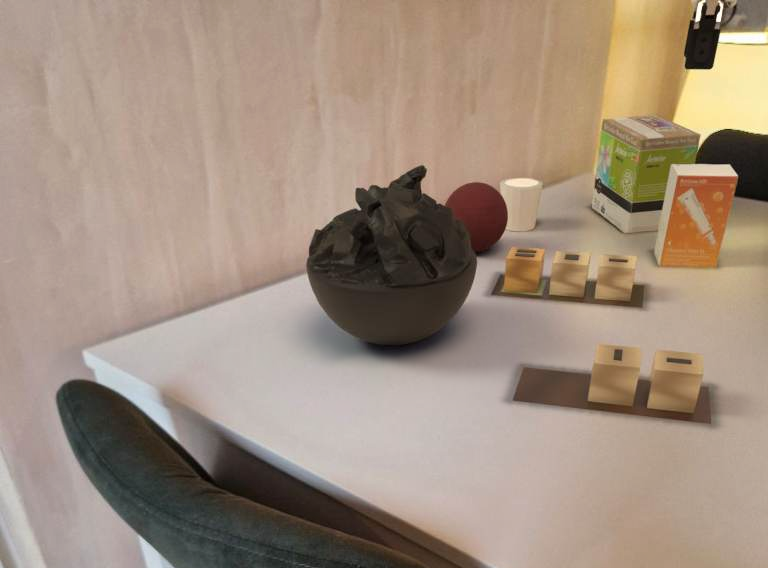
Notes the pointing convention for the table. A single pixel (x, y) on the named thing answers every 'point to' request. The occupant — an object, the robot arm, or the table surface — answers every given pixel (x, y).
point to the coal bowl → (392, 264)
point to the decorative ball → (480, 213)
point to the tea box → (638, 168)
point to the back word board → (573, 281)
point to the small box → (695, 214)
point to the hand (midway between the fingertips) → (697, 62)
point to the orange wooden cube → (524, 269)
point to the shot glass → (521, 202)
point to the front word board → (578, 393)
